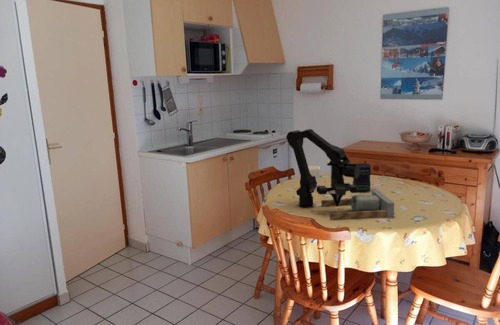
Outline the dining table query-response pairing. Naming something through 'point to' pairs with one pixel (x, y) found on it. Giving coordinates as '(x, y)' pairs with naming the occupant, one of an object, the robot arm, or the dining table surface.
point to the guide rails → (352, 214)
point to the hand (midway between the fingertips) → (336, 206)
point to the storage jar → (363, 178)
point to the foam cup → (315, 172)
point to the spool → (365, 203)
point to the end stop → (385, 203)
